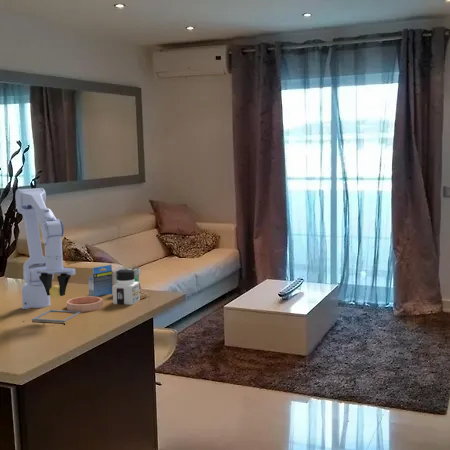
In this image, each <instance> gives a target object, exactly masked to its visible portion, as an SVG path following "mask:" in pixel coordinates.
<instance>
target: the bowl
mask: <svg viewBox="0 0 450 450" xmlns="http://www.w3.org/2000/svg"><path fill="white" fill-rule="evenodd" d="M103 307H104V300H103V297H100V296H95V297H93V296H89V295H88V296H77V297H73V298H70V299H67V301H66V309H67V310H66V311H81V313H85V312H93V311H97V310H100V309H102V308H103Z"/></svg>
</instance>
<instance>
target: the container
mask: <svg viewBox="0 0 450 450" xmlns="http://www.w3.org/2000/svg"><path fill="white" fill-rule="evenodd" d="M132 269H133V268H121V269H117V270H116V271H117V281H116V283H115V284H114V285H113V284H112V304H113V305H135V304H136V303H137V302H139V301H140V299H141V298H140V281H139V282H134V281H135V277H134V270H132ZM117 282H118V283H117Z"/></svg>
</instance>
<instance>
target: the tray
mask: <svg viewBox="0 0 450 450" xmlns="http://www.w3.org/2000/svg"><path fill="white" fill-rule="evenodd" d="M51 312H54V313H74V314H72V315H70V316H68V317H67V318H65V319H50V318H41V317H43V316H45V315H47V314H49V313H51ZM80 314H82V312H81V311H69V310H61V309H49V310H47V311H45V312H43V313H41V314H39V315H37V316H36V317H33V318H31V320H32V321H31V322H32V323H37V324H52V323H54V325H56V324H57V325H66V324H65V323H66V322H67V321H69V320H71V319H72V318H74V317H76V316H77V315H80Z"/></svg>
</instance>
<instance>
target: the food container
mask: <svg viewBox="0 0 450 450" xmlns="http://www.w3.org/2000/svg"><path fill="white" fill-rule="evenodd" d="M131 269H132V270H134V277H135V281H134V282H139V283H140V280H139V279H140V275H141V273H142V272H141V269H140V267H138V266H133V268H131ZM117 271H118V270H115V273H114V277H115V279H116V284H117V283H118V282H117Z"/></svg>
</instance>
